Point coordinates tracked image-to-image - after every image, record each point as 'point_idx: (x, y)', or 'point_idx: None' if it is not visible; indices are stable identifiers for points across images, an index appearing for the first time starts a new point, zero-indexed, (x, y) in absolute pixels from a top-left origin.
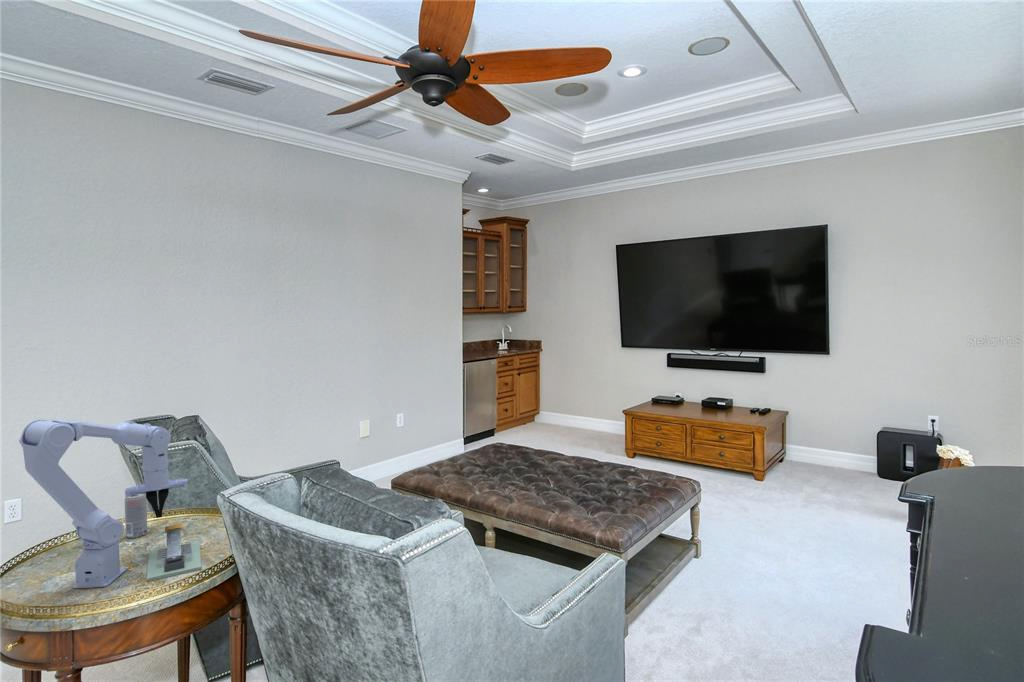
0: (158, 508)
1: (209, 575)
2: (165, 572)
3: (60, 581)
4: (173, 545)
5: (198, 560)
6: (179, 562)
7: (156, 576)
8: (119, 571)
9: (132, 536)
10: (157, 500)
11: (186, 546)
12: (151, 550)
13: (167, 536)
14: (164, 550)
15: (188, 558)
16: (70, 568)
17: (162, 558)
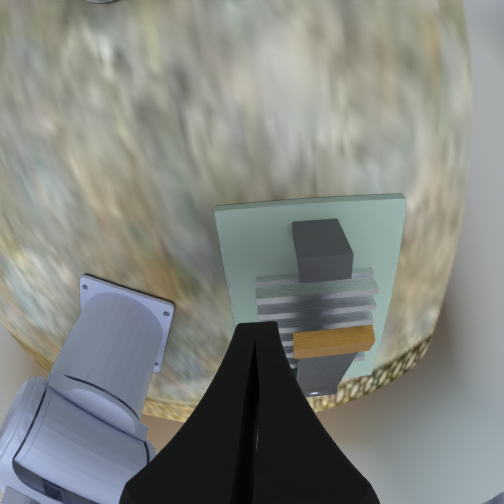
0: (252, 361)
1: (376, 389)
2: None
3: (34, 294)
4: (319, 381)
5: (373, 346)
6: None
7: None
8: (161, 336)
9: (99, 1)
10: (242, 421)
11: (359, 310)
12: (220, 210)
13: (302, 365)
14: (283, 317)
15: None
16: (10, 224)
17: None
